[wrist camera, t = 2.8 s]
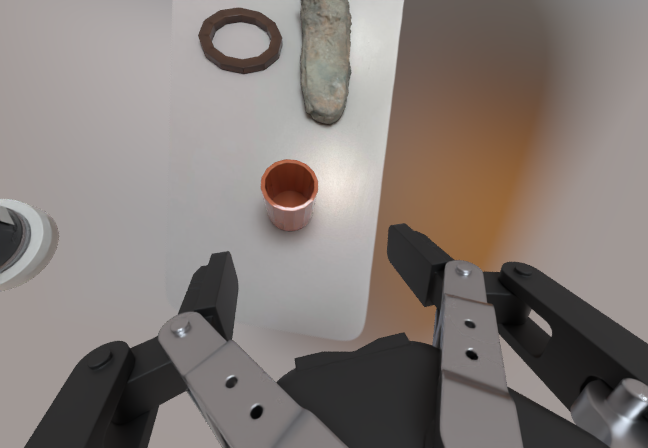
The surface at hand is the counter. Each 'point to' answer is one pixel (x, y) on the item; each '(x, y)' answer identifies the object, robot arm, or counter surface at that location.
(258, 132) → the counter surface
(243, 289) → the counter surface
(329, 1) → the elongated rock
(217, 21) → the ring
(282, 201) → the cup
